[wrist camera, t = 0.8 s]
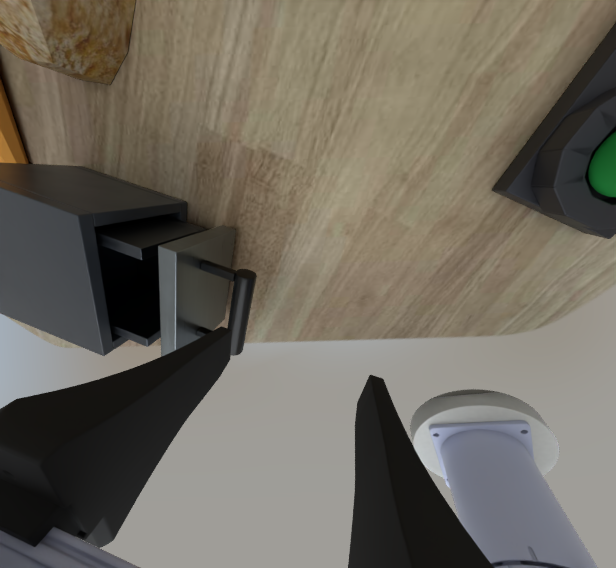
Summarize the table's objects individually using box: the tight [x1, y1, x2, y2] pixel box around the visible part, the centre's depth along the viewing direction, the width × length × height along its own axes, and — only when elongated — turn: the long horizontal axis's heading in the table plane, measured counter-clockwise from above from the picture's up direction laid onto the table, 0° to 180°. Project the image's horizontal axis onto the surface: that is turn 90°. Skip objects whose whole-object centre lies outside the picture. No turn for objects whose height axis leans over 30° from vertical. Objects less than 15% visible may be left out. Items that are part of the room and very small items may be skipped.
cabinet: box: [0, 162, 187, 356], centre depth 19 cm, size 11×11×9 cm
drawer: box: [94, 215, 257, 357], centre depth 18 cm, size 13×9×7 cm
